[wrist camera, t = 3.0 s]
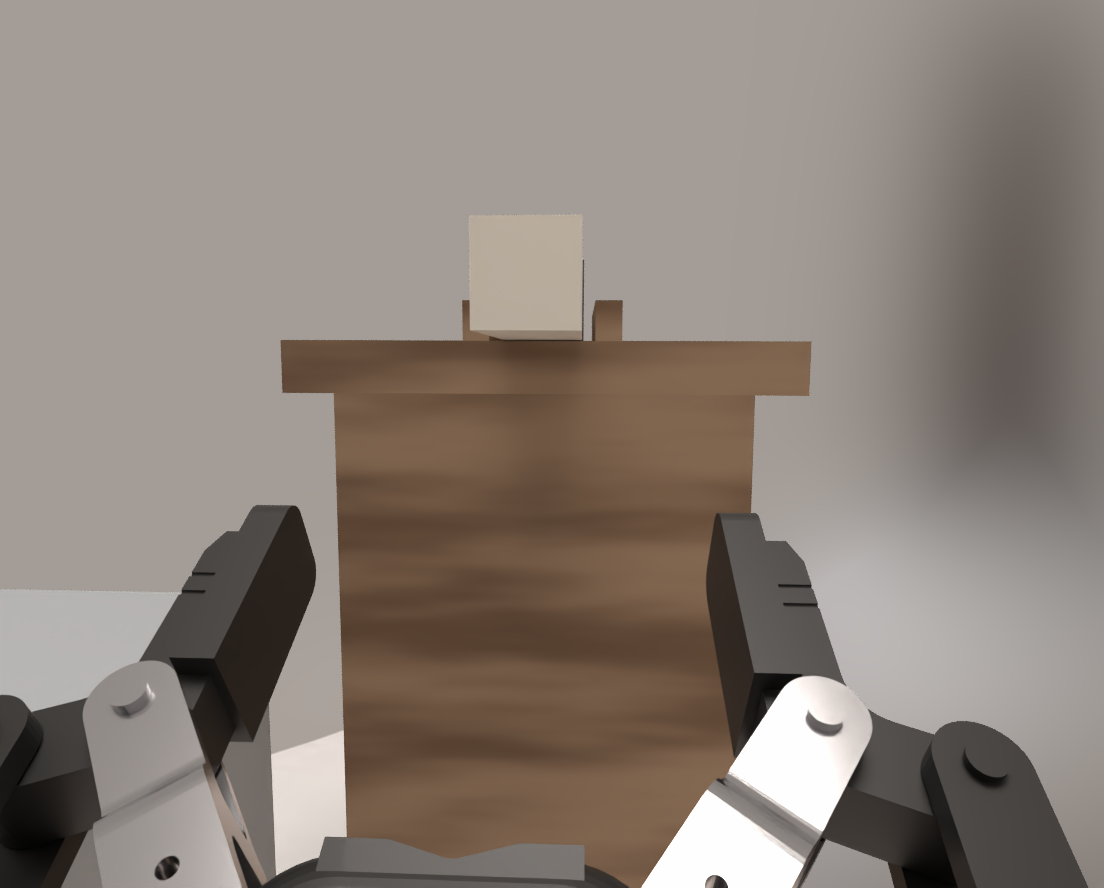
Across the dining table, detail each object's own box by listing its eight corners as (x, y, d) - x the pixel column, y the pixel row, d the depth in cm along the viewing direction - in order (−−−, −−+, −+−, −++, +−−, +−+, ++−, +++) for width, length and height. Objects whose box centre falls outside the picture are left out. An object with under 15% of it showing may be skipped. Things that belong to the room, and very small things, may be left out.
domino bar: (583, 332, 19) (584, 212, 19) (468, 331, 20) (467, 213, 19) (583, 346, 37) (583, 285, 37) (522, 346, 37) (522, 284, 37)
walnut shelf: (777, 1111, 31) (813, 300, 27) (308, 1089, 31) (279, 300, 28) (730, 927, 40) (750, 317, 37) (374, 914, 41) (359, 316, 38)
